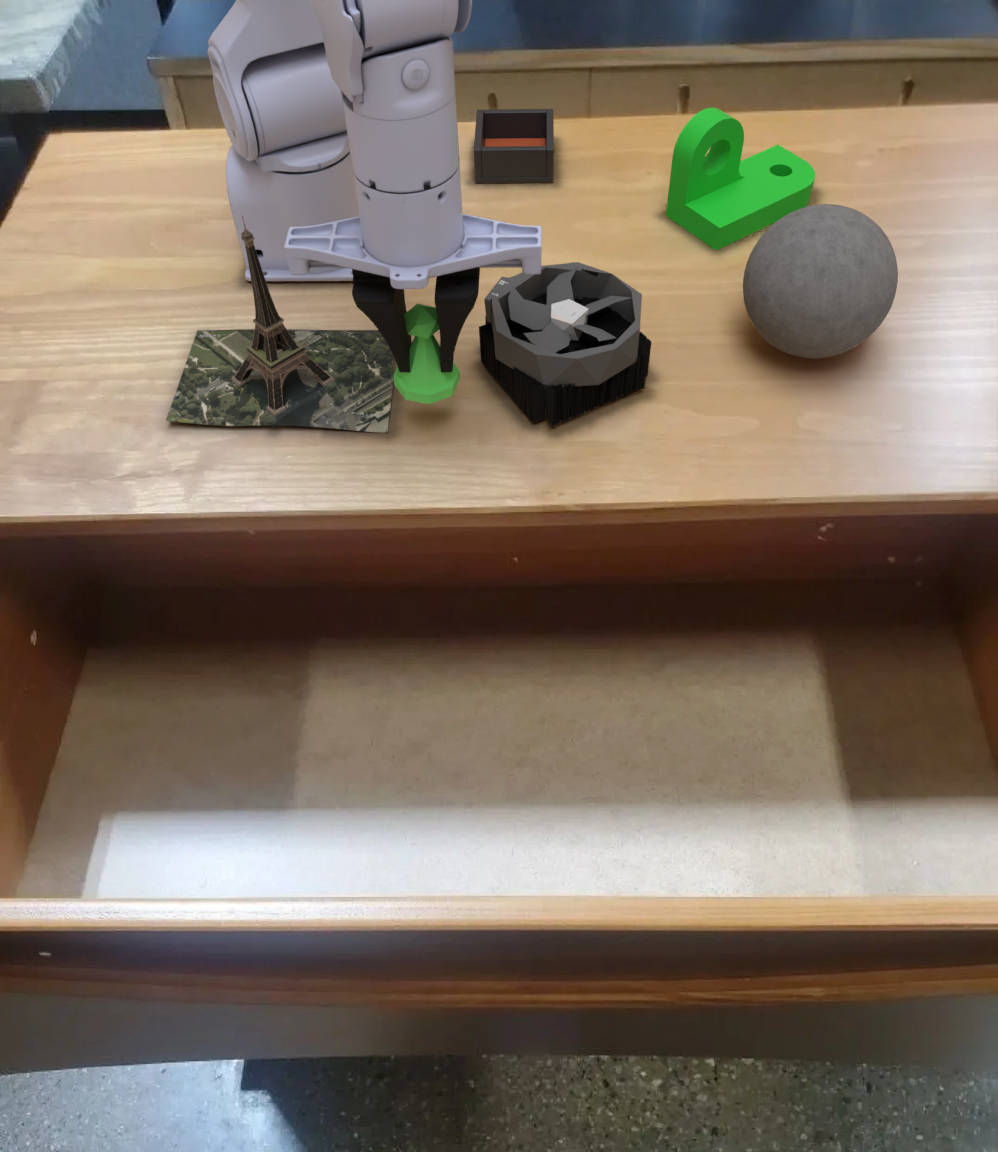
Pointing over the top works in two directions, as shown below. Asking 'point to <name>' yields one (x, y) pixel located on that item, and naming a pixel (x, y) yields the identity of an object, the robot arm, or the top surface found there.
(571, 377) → the cpu cooler
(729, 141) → the mechanical part
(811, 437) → the top surface
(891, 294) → the decorative ball
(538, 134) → the pad holder
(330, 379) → the eiffel tower figurine
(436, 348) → the game piece
